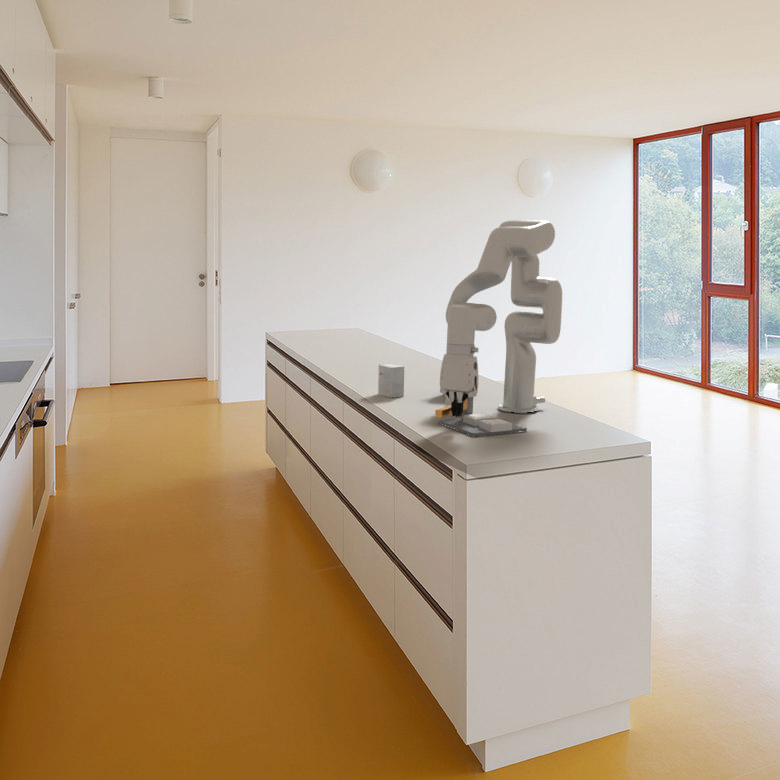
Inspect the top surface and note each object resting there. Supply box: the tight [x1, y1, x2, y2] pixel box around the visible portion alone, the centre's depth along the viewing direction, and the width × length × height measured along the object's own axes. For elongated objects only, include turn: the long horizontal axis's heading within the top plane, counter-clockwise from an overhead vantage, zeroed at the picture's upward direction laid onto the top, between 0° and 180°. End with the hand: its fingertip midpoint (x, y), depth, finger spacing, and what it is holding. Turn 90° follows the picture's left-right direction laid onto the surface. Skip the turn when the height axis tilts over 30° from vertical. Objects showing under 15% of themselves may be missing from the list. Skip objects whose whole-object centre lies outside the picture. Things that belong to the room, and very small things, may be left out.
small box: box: [377, 363, 405, 399], centre depth 267 cm, size 8×6×10 cm
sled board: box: [438, 397, 527, 438], centre depth 222 cm, size 18×18×8 cm
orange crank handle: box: [434, 388, 479, 419], centre depth 221 cm, size 21×5×6 cm, turn 148°
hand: (456, 415), depth 216 cm, fingers closed
